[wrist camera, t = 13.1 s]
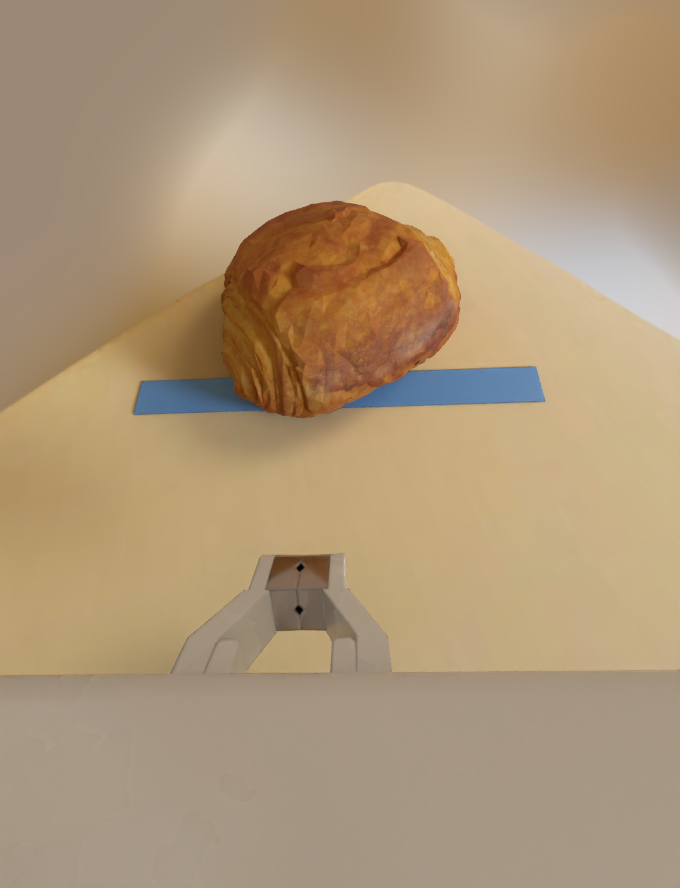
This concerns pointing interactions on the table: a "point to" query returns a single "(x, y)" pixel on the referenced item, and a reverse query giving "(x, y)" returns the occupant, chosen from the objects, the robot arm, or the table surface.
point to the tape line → (403, 392)
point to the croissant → (333, 307)
